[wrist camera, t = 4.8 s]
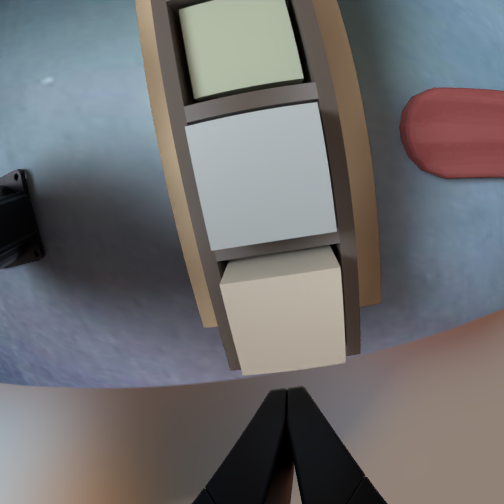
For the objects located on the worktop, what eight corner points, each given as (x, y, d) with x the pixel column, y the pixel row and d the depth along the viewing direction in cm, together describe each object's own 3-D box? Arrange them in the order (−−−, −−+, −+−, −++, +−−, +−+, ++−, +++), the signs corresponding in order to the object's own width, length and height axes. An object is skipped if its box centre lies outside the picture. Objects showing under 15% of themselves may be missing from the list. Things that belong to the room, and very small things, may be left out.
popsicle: (573, 175, 13) (414, 185, 14) (559, 172, 14) (403, 181, 16) (567, 102, 11) (400, 82, 13) (554, 102, 12) (390, 87, 14)
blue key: (225, 226, 13) (211, 250, 10) (205, 130, 12) (184, 126, 9) (323, 211, 12) (337, 231, 10) (307, 112, 11) (317, 102, 8)
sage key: (210, 107, 13) (194, 98, 10) (196, 32, 12) (178, 9, 9) (298, 91, 13) (303, 78, 10) (280, 15, 12) (281, -12, 9)
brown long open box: (208, 314, 19) (187, 372, 14) (142, -22, 12) (101, -62, 7) (374, 291, 18) (404, 344, 13) (309, -56, 11) (318, -110, 6)
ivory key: (249, 334, 15) (243, 375, 12) (231, 254, 13) (219, 284, 11) (334, 322, 14) (345, 362, 11) (327, 239, 13) (340, 267, 10)
